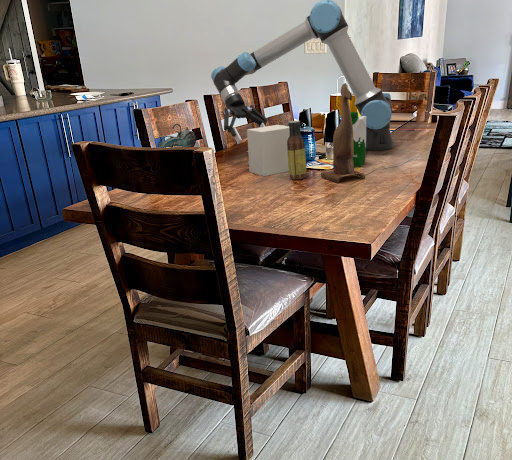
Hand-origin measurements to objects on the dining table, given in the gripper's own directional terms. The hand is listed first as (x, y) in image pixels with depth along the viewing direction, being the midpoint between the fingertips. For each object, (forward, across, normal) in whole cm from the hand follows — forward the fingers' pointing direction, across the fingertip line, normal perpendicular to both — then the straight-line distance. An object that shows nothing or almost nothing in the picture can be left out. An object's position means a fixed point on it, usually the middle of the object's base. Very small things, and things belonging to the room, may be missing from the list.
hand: (254, 139), depth 206 cm
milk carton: (+30, -24, +16) cm, 41 cm away
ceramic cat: (+8, +35, -5) cm, 37 cm away
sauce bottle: (+30, +4, +17) cm, 35 cm away
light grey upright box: (+14, +3, +1) cm, 15 cm away
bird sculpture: (+38, -7, +25) cm, 46 cm away
